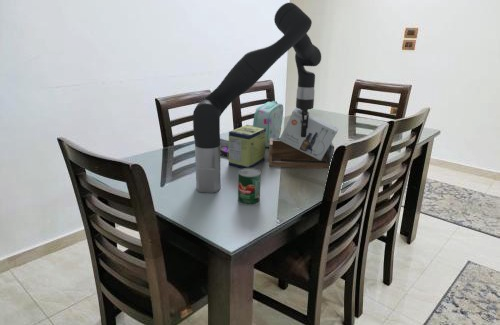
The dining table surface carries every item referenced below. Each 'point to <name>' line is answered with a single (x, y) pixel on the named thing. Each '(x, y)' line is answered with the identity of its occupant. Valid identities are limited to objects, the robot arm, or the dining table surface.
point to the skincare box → (308, 135)
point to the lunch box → (269, 120)
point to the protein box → (247, 146)
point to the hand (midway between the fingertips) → (302, 134)
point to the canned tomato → (249, 186)
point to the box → (224, 148)
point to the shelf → (296, 156)
